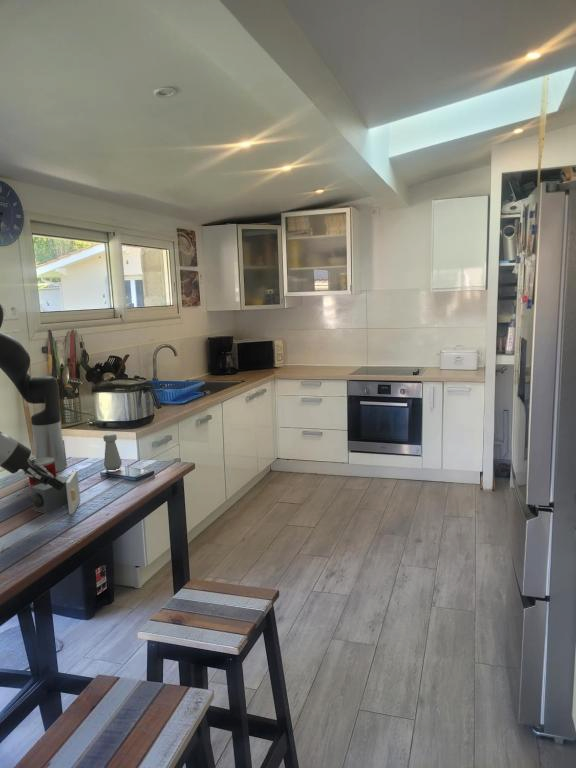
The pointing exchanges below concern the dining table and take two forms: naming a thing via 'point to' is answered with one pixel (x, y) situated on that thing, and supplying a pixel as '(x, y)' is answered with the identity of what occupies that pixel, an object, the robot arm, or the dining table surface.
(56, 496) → the block
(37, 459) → the canned food
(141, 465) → the dining table surface
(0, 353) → the robot arm
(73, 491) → the side door
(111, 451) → the salt shaker
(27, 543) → the dining table surface
